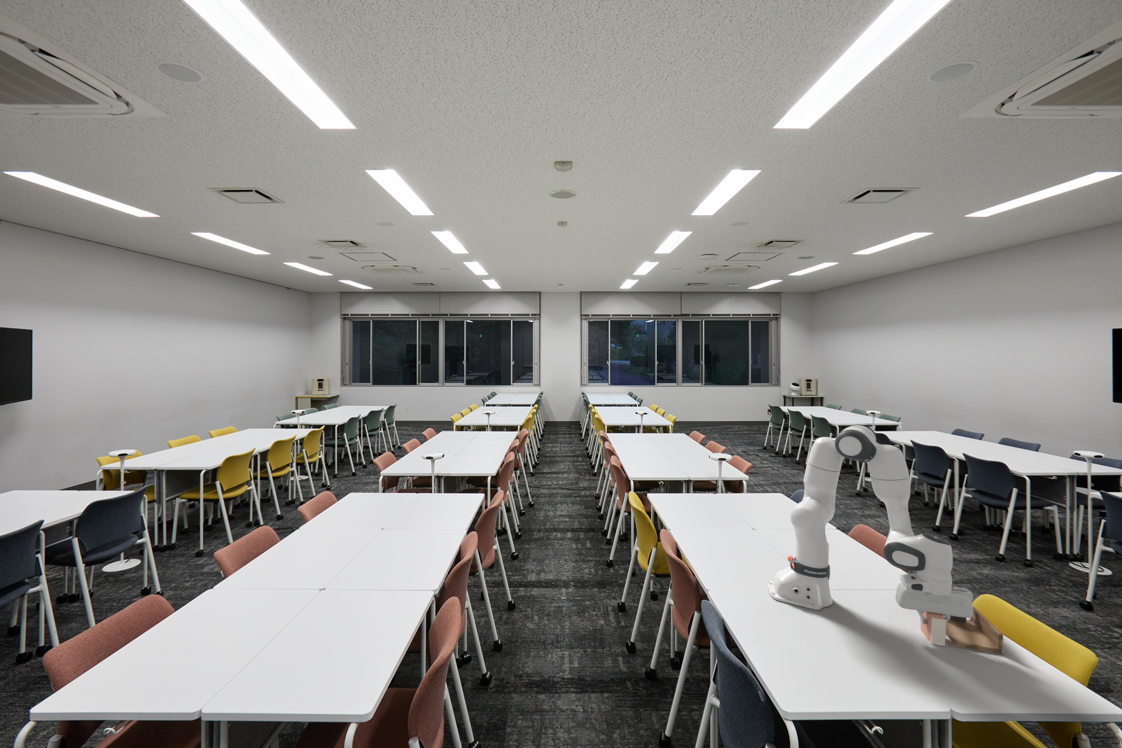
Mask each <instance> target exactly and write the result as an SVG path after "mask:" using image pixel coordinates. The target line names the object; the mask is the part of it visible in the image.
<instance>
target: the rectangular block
mask: <svg viewBox="0 0 1122 748" xmlns="http://www.w3.org/2000/svg"><path fill="white" fill-rule="evenodd" d="M922 615H923V616H924V617H926V618H927V619H928V622H927V623H928V624H923V623H921V622H920V631H921V632H922V634H923V636H925V637H926V639H927V640H928V641H929V643H930V644H931V645H934V646H940V647H946V619H945V618H944V617H943V616H942V615H941V614H938V613H931V612H924V614H922Z"/></svg>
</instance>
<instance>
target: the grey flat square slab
mask: <svg viewBox="0 0 1122 748" xmlns="http://www.w3.org/2000/svg"><path fill="white" fill-rule="evenodd" d="M941 615H942V616H943V614H941ZM949 620H953V621H960V622H966V620H967V618H964V617H957V616H951V615H950V619H949Z"/></svg>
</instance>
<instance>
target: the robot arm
mask: <svg viewBox="0 0 1122 748" xmlns="http://www.w3.org/2000/svg"><path fill="white" fill-rule="evenodd" d="M844 459H848V460H852V461H856V462H860V463H863V464H865V463H867V466H868V471H869V475H870V482H871V486H872V489H873V492H874V495H875V496H876V497H877V498H878V499H879V500H881V501H882V502H883V503H884V505H885V508H886V511H887V512H886V513H887V517H888V523H889V531H888V532H887V535H886V542H885V544H884V547H883V556H884V558H885V559H886V561H887V562H888V564H890V565H891V566H893V567H896V568H897V569H901V570H907V571H914V572H912V573H911V572H910V573H907V574H906V573H905V574H901V575H899V581H900V582H899V583H898V585H897V586H896V592H895V602H896V603H897V604H898V606H899V607H900V608H901V609H906V610H913V611H916V612H917V613H918V615H919V622H920V624H921V623H923V624H928V623H927V622H928V619H927V618H926V617H924V616H923V615H922V614H924V612H931V613H938V614H943V617H944V618H945V619H946V622H947V621H948V620H949V619H950V615H951V616H957V617H964V618H966V619H970V618H971V617H972V616H973V607H974V606H973V603H972V602H973V599H974V595H973V594H974V593H973V592H972V591H971V590H970V589H968V588H966V587H958V586H955V585H953V576H952V574H951V573H952V572H951V571H952V569H953V563H954V562H953V557H954V555H953V549H952V548H953V547H952V545H951V544H950V542H949V541H948V540H947V539H945V538H943V537H942V536H940V535H937V534H934V533H931V532H922V533H920V534H918V535H917V534H916V533H915V531H914V529H913V527H912V522H911V518H910V517H911V516H910V512H909V500H910V497H911V480H910V473H909V467H908V465H907V462H906V459H905V457H904V453H903V452H902V451H901V449H900V448H899V447H896V446H894V445H890V444H881V443H878V438H877V434H876V432H875V431H874V430H873V429H872V428H871V427H870V426H868V425H865V424H852V425H850V426H848V427H845V428H844V429H842V431H840V432H839V433H838V434H837V436H835V437H828V436H822V437H817V438H816V439H815V441H814V442H813V445H811V449H810V451H809V455H808V457H807V462H806V467H805V472H804V476H803V484H804V487H803V488H804V491H803V492H804V493H803V498H802V500H801V501H800V502H798V503H797V504H795V505H794V506H793V508H792V510H791V512H790V515H789V517H790V521H791V522H790V523H791V524H792V527H793V529H794V534H795V543H796V544H795V557H793V556H792V555H791V554H790V555H788V556H787V561H788V562H789V566H787V567H785V568H783V569H781V570H779V571H777V572H776V573H775V576H774V580H770V581H769V582H768V584H767V592H768V594H769V595H770V597H771V598H773V599H774V600H775V601H779V602H784V603H786V604H791V605H794V606H798V607H802V608H803V607H804V608H805V609H811V610H815V611H820V610H822V609H823V608H827V607H830V606H831V605H832V604H833V603H834V602H833V598H832V594H831V590H830V577H831V567H830V564H829V559H830V558H829V556H830V555H829V554H830V543H829V542H828V540H827V534H826V528H827V527H826V526H827V524H828V523H829V522H830V521H831V520H832V519H833V517H834V515H835V511H836V497H837V496H836V493H837V487H838V482H839V478H840V473H841V469H842V465H843V461H844Z"/></svg>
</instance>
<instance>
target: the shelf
mask: <svg viewBox="0 0 1122 748" xmlns="http://www.w3.org/2000/svg"><path fill="white" fill-rule="evenodd" d="M945 637H947V639H949V641H950V642H951V644H953V645H954V647H956V648H963V649H968V650H974V651H981V652H984V653H992V654H997V655H1003V645H1004V644H1003V641H1004V634H1003V633H1002V632H1001V631H1000V630H999V629H998V628H997V627H996V626H995V625H994V624H993V623H991V622H990V621H989V619H987V618H986V617H985V616H984V615H983V614H982V612H980V611H979V610H978V609H977V608H976V607H975V606H973V616H972V617H971V618H969V619H966V622H960V621H953V620H948V621H947V622H946V635H945Z"/></svg>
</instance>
